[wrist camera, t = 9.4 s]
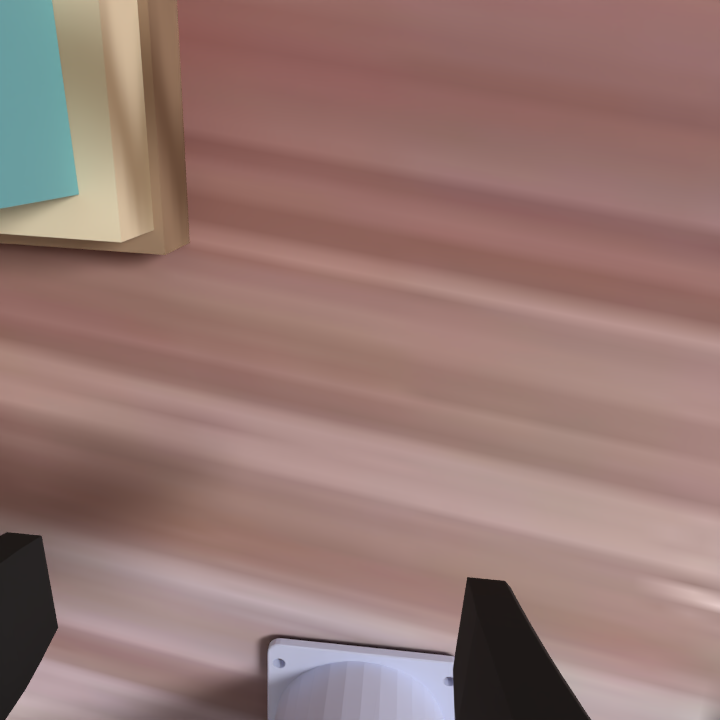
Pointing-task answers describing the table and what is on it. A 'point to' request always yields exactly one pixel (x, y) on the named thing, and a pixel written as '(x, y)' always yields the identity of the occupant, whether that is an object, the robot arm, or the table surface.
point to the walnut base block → (152, 141)
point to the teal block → (32, 107)
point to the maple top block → (98, 129)
